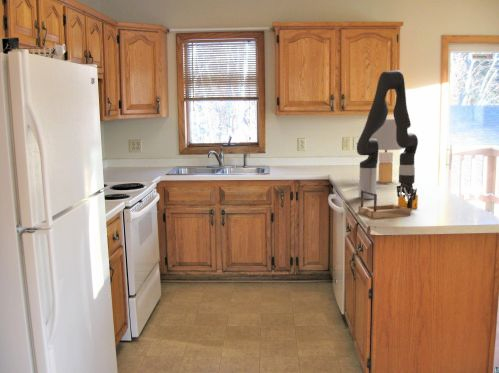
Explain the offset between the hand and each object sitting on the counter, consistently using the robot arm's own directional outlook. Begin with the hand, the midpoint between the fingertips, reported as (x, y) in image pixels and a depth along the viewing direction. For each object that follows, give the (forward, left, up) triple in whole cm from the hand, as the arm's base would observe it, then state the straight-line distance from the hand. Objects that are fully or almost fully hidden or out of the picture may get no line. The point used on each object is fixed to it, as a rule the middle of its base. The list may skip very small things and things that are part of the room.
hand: (406, 207), depth 262 cm
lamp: (-83, +40, -1) cm, 92 cm away
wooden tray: (+7, -17, -1) cm, 19 cm away
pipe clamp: (0, 0, -1) cm, 1 cm away
